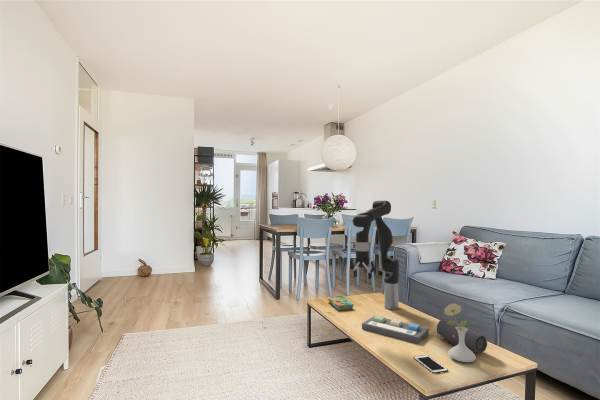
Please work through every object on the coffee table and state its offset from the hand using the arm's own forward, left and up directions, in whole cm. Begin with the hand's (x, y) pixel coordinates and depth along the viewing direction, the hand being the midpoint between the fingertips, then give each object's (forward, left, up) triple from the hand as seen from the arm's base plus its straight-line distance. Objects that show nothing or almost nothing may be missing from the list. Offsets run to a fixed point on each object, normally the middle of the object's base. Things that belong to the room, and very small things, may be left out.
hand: (362, 278), depth 185 cm
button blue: (-8, +26, -27) cm, 38 cm away
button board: (-6, +16, -28) cm, 33 cm away
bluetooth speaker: (-9, +49, -29) cm, 58 cm away
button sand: (-8, +16, -27) cm, 32 cm away
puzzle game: (-26, -32, -29) cm, 50 cm away
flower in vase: (+6, +52, -29) cm, 60 cm away
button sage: (-8, +6, -27) cm, 29 cm away
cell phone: (+20, +43, -29) cm, 56 cm away
